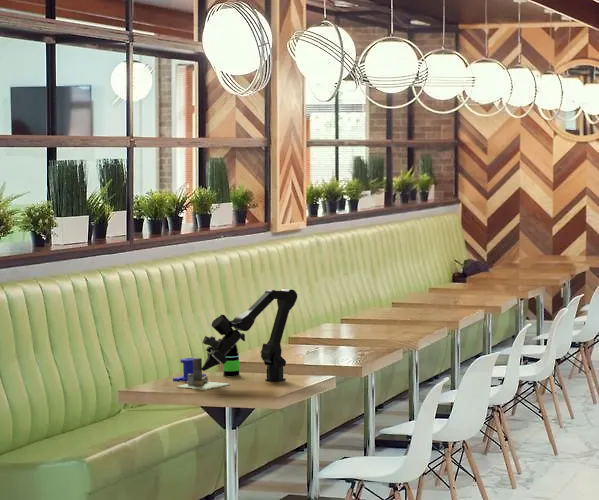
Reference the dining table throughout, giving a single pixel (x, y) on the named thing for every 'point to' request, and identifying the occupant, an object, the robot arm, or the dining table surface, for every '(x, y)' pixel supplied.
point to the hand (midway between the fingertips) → (202, 370)
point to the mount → (186, 369)
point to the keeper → (191, 379)
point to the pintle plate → (204, 385)
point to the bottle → (232, 363)
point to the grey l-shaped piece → (198, 372)
